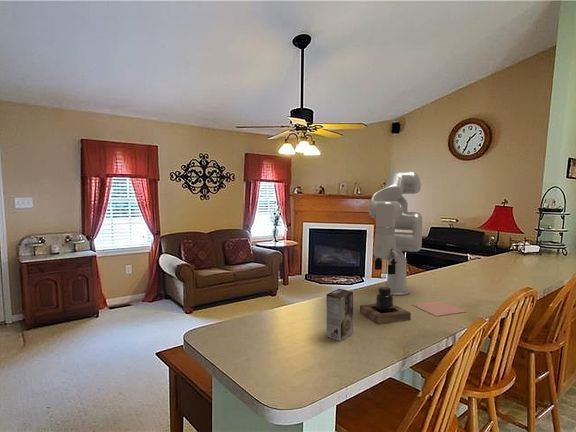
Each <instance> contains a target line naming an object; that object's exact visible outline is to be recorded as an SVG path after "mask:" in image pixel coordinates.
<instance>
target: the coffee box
mask: <svg viewBox="0 0 576 432" xmlns="http://www.w3.org/2000/svg"><path fill="white" fill-rule="evenodd" d="M353 334H354V291H352V290H347V289H345V288H344V289H343V288H337V289H335V290H333V291H331V292H329V293H326V338H328V337H330V338H329V339H331V338H333V339H332V340H335V339H336V340H335V341H338V340H339V342H342V341H344V340H345V339H347V338H348V337H349V336H351V335H353Z"/></svg>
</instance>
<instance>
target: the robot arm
mask: <svg viewBox="0 0 576 432" xmlns="http://www.w3.org/2000/svg"><path fill="white" fill-rule="evenodd" d="M421 184H422V183H421V179H420V176H419V174H418V173H417V172H415V171H412V170H411V171H393V172H391V173H389V175H388V176H387V178H386V181H385V185H384V187H383V188H381V189H380V190H378V191H376V192H375V193H374V194H372V196H371V198H370V201H369V204H368V215H369V216H370V217H371V218H375V219H376V221H375V222H376V223H375V236H374V241H373V249H372V256H373V260H374V270H375V271H378V270H379V271H381V270H382V268H383V260H386V261H387V263H386V264H387V267H386V268H387V270H386V271H387V272H386V275H387V276H386V281H384V285H386V287H388V288H390V289H391V293H390V294H391V295H392V296H407V295H409V294H410V290H409V289H408V288H407V258H406V255H405V254H404V253H403V252H419V251H421V249H422V246H423V245H422V244H423V217H422V215H421V213H420V212H418V211H408V208H409V207H408V206H409V205H408V200H406V198H405V197H404V196H403V195H405V194H406V195H414V194H419V192H420V190H421V186H422V185H421ZM396 230H397V231H396ZM398 230H400V231H398ZM403 231H405V232H403ZM406 231H412V232H406Z"/></svg>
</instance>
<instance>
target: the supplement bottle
mask: <svg viewBox="0 0 576 432" xmlns="http://www.w3.org/2000/svg"><path fill="white" fill-rule="evenodd" d="M390 293H391V289H390V288H388V287H387V286H380V287H378V293H377V294H376V301H375V304H376V311H378V312H379V313H381V314H382V313H390V312H393V304H394V295H391V294H390Z"/></svg>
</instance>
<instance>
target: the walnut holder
mask: <svg viewBox="0 0 576 432" xmlns="http://www.w3.org/2000/svg"><path fill="white" fill-rule="evenodd" d="M359 313H360V314H362V315H363V316H365V317H367V318H368V319H369V320H371V321H373V322H374V323H376V324H377V325H384V324H389V323H390V324H391V323H398V322H406V321H411V319H412V318H411V317H412V315H411V314H412V313H411V311H408V310H406V309H404V308H402V307H400V306H398V305H396V304H394V303H393V312H390V313H382V314H381V313H379V312H378V311H376V303H369V304H368V303H367V304H362V305H361V304H360V305H359Z"/></svg>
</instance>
